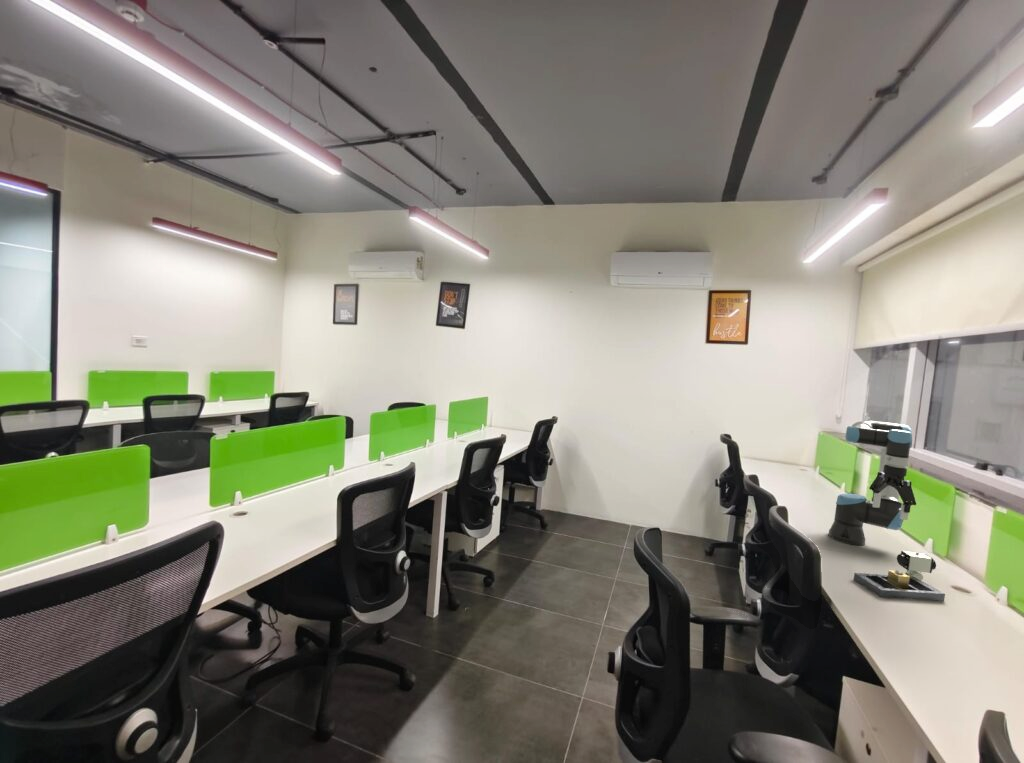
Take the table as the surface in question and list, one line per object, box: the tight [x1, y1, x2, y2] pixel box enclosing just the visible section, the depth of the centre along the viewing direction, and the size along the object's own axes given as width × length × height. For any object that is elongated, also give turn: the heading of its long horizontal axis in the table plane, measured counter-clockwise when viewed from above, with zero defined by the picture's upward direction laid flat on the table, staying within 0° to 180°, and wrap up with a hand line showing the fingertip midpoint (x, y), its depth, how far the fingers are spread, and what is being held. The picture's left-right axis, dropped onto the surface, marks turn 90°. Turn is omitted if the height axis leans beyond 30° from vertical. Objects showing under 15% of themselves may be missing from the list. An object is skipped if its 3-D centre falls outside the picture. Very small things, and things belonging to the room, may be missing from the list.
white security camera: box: [896, 550, 937, 581], centre depth 184 cm, size 6×12×12 cm, turn 78°
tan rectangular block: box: [887, 569, 910, 590], centre depth 173 cm, size 4×4×8 cm
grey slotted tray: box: [853, 572, 946, 602], centre depth 174 cm, size 13×25×3 cm, turn 91°
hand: (889, 513), depth 190 cm, fingers open, 13 cm apart
